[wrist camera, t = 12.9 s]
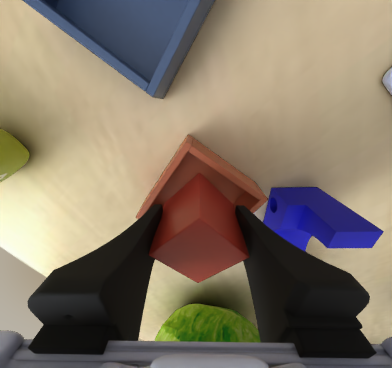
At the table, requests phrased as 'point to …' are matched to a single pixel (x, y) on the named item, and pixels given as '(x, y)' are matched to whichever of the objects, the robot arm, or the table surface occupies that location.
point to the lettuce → (207, 326)
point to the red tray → (212, 170)
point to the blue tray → (132, 34)
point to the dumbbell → (11, 155)
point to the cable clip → (317, 219)
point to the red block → (199, 232)
